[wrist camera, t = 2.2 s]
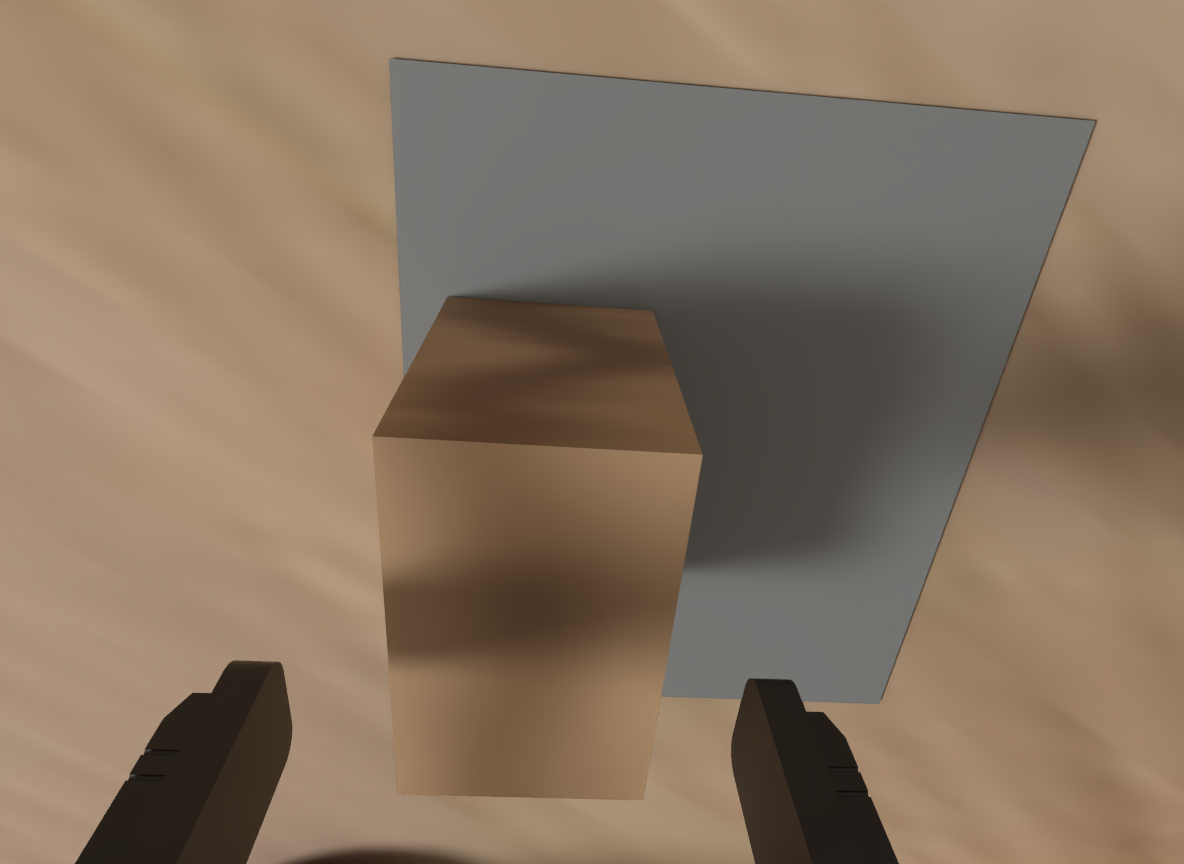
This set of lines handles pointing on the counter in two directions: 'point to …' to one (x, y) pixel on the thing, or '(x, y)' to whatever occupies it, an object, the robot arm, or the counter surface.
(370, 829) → the counter surface
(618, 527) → the walnut block
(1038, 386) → the counter surface
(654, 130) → the grey mat
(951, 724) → the counter surface
